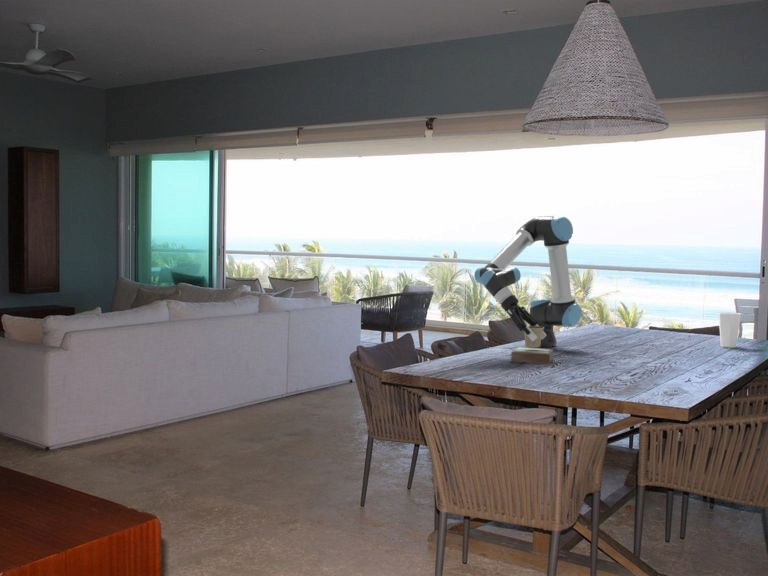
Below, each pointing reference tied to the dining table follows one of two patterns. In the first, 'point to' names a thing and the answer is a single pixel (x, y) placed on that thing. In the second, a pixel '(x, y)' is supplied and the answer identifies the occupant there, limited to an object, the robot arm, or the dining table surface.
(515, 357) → the brown flat square box
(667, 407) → the dining table surface
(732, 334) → the cup
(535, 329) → the flower pot
